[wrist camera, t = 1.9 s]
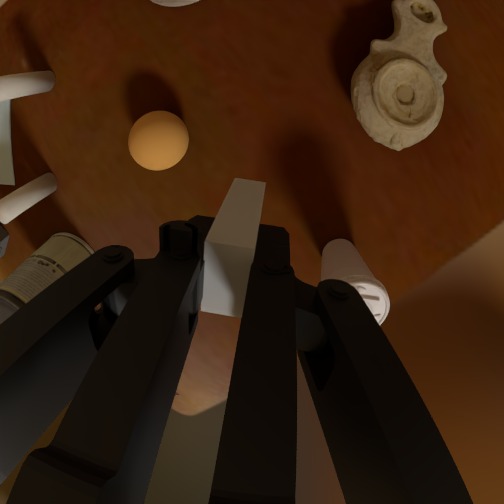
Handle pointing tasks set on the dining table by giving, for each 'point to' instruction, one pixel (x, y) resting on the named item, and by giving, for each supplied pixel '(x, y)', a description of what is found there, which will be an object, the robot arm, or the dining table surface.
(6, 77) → the post
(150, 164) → the ball
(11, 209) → the post
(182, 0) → the teacup with lid
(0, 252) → the dice cube
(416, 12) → the oil lamp
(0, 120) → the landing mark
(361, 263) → the smoothie
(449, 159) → the dining table surface
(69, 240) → the coffee can
